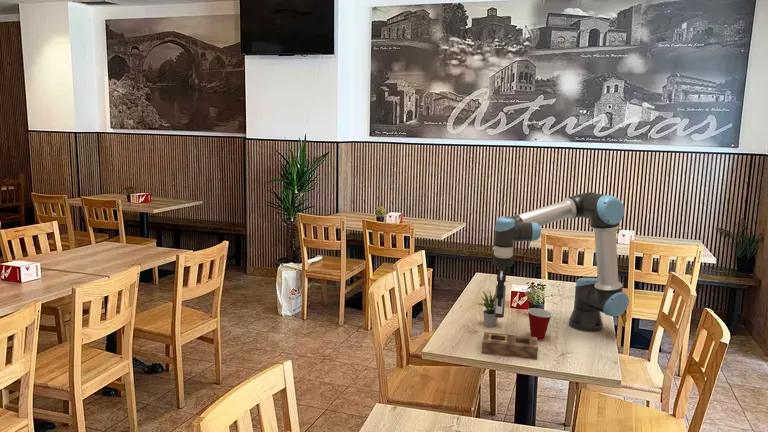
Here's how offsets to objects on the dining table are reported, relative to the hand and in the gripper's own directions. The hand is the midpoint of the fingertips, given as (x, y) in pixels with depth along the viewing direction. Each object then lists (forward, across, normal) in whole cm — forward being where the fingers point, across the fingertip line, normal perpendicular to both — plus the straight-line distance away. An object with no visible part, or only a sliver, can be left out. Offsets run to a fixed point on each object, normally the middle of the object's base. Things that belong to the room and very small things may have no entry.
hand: (499, 311), depth 248 cm
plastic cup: (+17, -20, +17) cm, 31 cm away
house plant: (+17, -29, -4) cm, 34 cm away
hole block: (+16, 0, +5) cm, 17 cm away
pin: (+2, 0, 0) cm, 2 cm away
